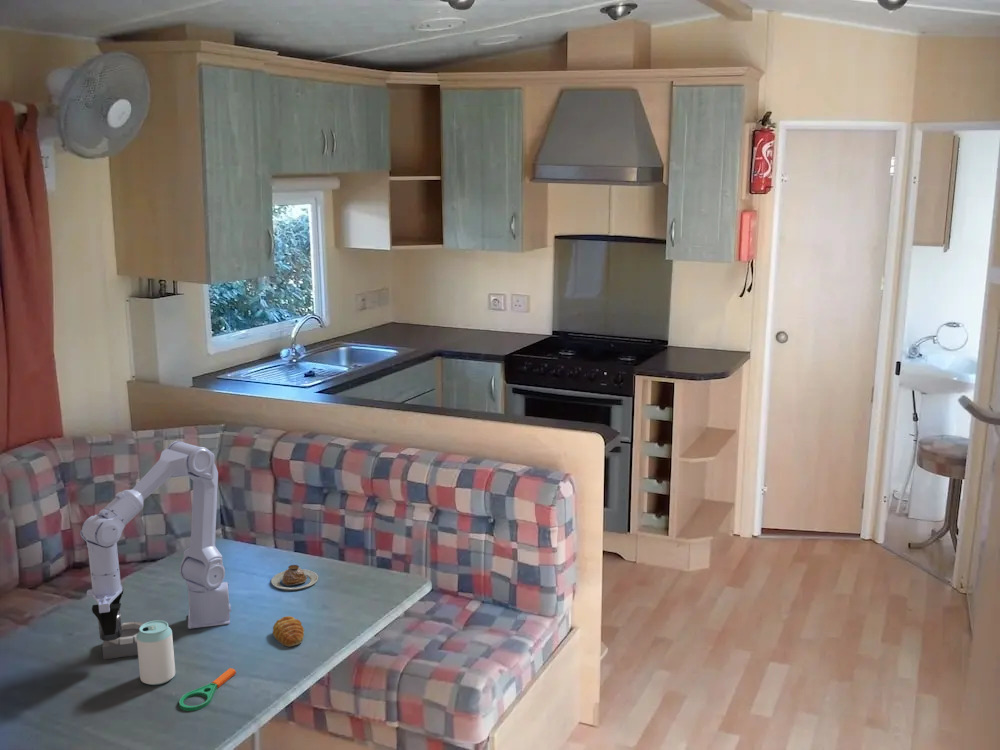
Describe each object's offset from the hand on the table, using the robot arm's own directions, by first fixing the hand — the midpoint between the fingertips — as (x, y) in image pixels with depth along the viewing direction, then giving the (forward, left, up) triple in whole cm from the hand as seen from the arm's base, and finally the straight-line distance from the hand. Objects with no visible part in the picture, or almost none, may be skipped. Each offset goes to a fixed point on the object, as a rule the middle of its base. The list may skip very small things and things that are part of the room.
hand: (111, 628), depth 210 cm
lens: (0, 0, -2) cm, 2 cm away
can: (-9, +9, -9) cm, 16 cm away
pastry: (-38, -2, -9) cm, 39 cm away
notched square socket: (-2, -6, -8) cm, 11 cm away
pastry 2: (-41, -31, -9) cm, 52 cm away
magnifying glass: (-20, +18, -9) cm, 28 cm away
